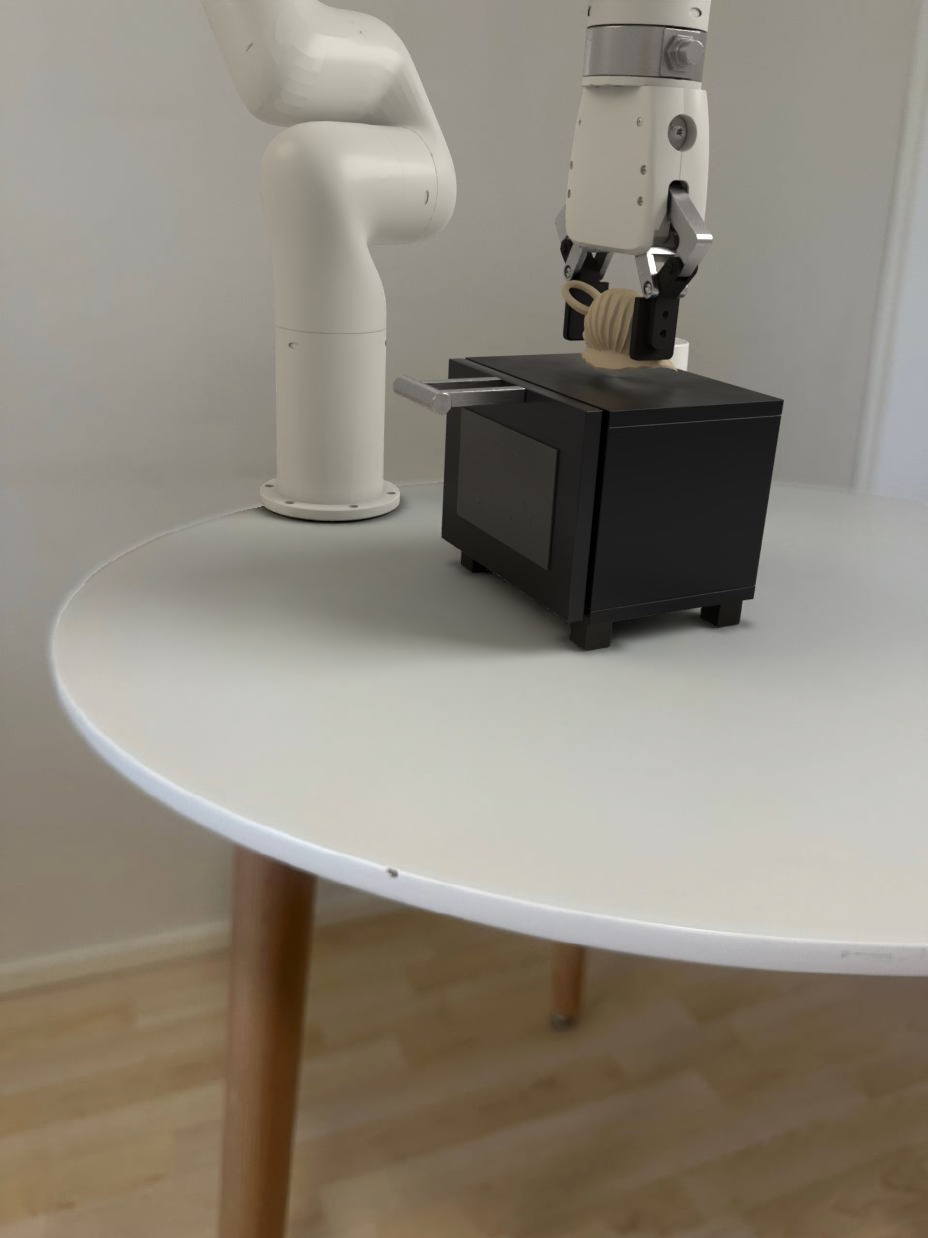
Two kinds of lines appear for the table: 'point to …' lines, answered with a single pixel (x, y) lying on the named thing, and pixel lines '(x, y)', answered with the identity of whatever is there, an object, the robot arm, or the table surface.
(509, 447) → the oven door
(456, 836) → the table surface
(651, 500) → the oven
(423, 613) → the table surface
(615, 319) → the decorative ornament
